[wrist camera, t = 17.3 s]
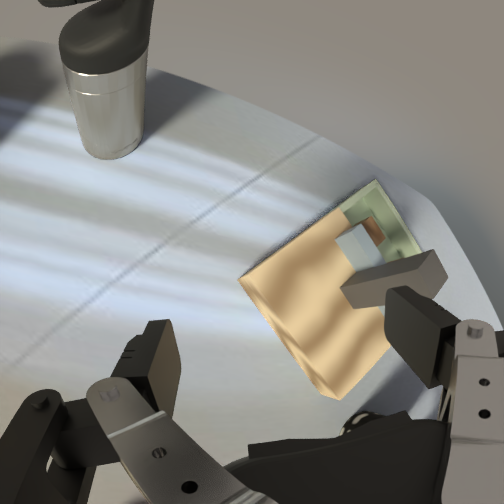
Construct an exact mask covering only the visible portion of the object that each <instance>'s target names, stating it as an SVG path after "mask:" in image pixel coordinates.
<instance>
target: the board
mask: <svg viewBox="0 0 504 504" xmlns="http://www.w3.org/2000/svg"><path fill="white" fill-rule="evenodd" d="M350 228H352V226H351V224H350V223H349V221H348V220H347V218H346V217H345V215H344V214H343V212H342V211H341V210H340V208H339V207H338V208H336V209H335V210H333V211H332V212H330V213H328V214H327V215H325V216H324V217H322V218H321V219H319V220H318V221H317V222H315V223H314V224H312V225H311V226H310V227H308V228H307V229H306V230H304V231H303V232H302V233H300V234H299V235H298V236H296V237H295V238H294V239H292V240H291V241H290V242H288V243H287V244H285V245H284V246H283V247H281V248H280V249H279V250H277V251H276V252H275V253H273V254H272V255H270V256H269V257H268V258H266V259H265V260H264V261H262V262H261V263H260V264H258V265H257V266H255V267H254V268H253V269H251V270H250V271H249V272H247V273H246V274H245V275H243V276H242V277H240V278H239V279H238V282H239V283H240V284H241V286H242V287H243V289H244V290H245V291H246V293H247V294H248V296H249V297H250V298H251V300H252V301H253V303H254V304H255V305H256V307H257V308H258V309H259V311H260V312H261V314H262V315H263V316H264V318H265V319H266V320H267V322H268V323H269V325H270V326H271V327H272V329H273V330H274V331H275V333H276V334H277V336H278V337H279V338H280V340H281V341H282V342H283V344H284V345H285V346H286V348H287V349H288V351H289V352H290V353H291V355H292V356H293V357H294V359H295V360H296V361H297V363H298V364H299V365H300V367H301V368H302V369H303V371H304V372H305V373H306V375H307V376H308V377H309V379H310V380H311V381H312V383H313V384H314V385H315V387H316V388H317V389H318V391H319V392H320V393H321V394H322V395H325V396H328V397H331V398H334V399H337V400H341V399H342V398H343V397H344V396H345V395H346V394H347V393H348V392H349V391H350V390H351V389H352V388H353V387H354V386H355V385H356V384H357V383H358V382H359V380H360V379H361V378H362V377H363V376H364V375H365V374H366V373H367V372H368V371H369V370H370V369H371V368H372V366H373V365H374V364H375V363H376V362H377V361H378V360H379V359H380V358H381V356H382V355H383V354H384V353H385V352H386V351H387V349H388V348H389V347H390V346H391V344H390V343H389V342H388V341H387V339H386V336H385V333H384V316H383V314H382V313H381V311H380V309H379V308H378V306H377V307H369V308H360V309H353V308H352V306H351V305H350V303H349V302H348V300H347V299H346V297H345V296H344V294H343V293H342V291H341V289H340V287H341V286H342V285H343V284H344V283H345V282H346V281H347V280H348V279H349V278H350V277H351V276H353V275H354V274H355V273H356V271H355V270H354V268H353V267H352V265H351V264H350V262H349V261H348V259H347V258H346V256H345V255H344V253H343V251H342V250H341V248H340V247H339V246H338V244H337V243H336V241H335V240H334V239H336V238H337V237H338V236H339V235H341V234H342V233H343V232H344V231H346V230H348V229H350Z"/></svg>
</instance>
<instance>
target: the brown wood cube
mask: <svg viewBox="0 0 504 504" xmlns="http://www.w3.org/2000/svg"><path fill="white" fill-rule="evenodd" d="M359 224H362V226H363V227H364V229H365V230H366V232H367V233H368V235H369V236H370V238H371V239H372V241H373V242H374V244H375V246H376V247H377V246H378V245H380V244H381V243H382V242H383V241H384V240H385V239H386V237H385V236H384V234H383V233H382V231H381V229H380V228H379V226H378V225H377V223H376V222H375V220H374V219H373V217H372V216H370V217H368V218H366V219H364V220H362V221H360V222H358V223H356V224H355V225H354V226H357V225H359ZM354 226H353V227H354Z"/></svg>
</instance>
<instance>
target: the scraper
mask: <svg viewBox="0 0 504 504" xmlns="http://www.w3.org/2000/svg"><path fill="white" fill-rule="evenodd" d="M334 240H335V241H336V243H337V244H338V246H339V247H340V248H341V250H342V251H343V253H344V255H345V256H346V258H347V259H348V261H349V262H350V264H351V265H352V267H353V268H354V270H355V271H356V273H355V274H354V275H353V276H351V277H350V278H349V279H348V280H347V281H346V282H345V283H344V284H343V285H342V286H341V287H340V289H341V291H342V293H343V294H344V296H345V297H346V299H347V300H348V302H349V303H350V305H351V306H352V308H353V309H360V308H369V307H377V306H378V308H379V309H380V311H381V313H382V314H383V316H384V315H385V296H386V291H387V289H389V288H393V287H398V286H404V285H407V286H408V287H410V288H411V289H413V290H414V291H416V292H417V293H418V294H420V295H422V296H425V297H428V298H430V299H434V297H435V296H436V295H437V293H438V292H439V290H440V289H441V287H442V286H443V285H444V283H445V282H446V280H447V279H448V275H447V273H446V272H445V270H444V268H443V266H442V264H441V262H440V260H439V258H438V256H437V255H436V253H435V251H434V249H432V250H429V251H426V252H422V253H419V254H416V255H413V256H409V257H406V258H403V259H400V260H396V261H393V262H389V263H386V262H385V260H384V258H383V257H382V255H381V254H380V252H379V250H378V249H377V247H376V246H375V244H374V242H373V241H372V239H371V238H370V236H369V235H368V233H367V232H366V230H365V229H364V227H363V226H362V224H359V225H357V226H354V227H352V228H350V229H348V230H346V231H344V232H343V233H342V234H341V235H339V236H338V237H337V238H336V239H334Z"/></svg>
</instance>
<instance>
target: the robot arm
mask: <svg viewBox="0 0 504 504" xmlns="http://www.w3.org/2000/svg"><path fill="white" fill-rule="evenodd" d="M38 1H39V2H40V3H41V4H42V5H43V6H45V7H63V6H69V5H75V4H77V3H85V2H90V1H96V0H38ZM153 4H154V0H101V1H99V2H97V3H95V4H93V5H91V6H89V7H87V8H85V9H83V10H82V11H80V12H78V13H77V14H76V15H74V16H73V17H72V18H71V19H70V20H69V21H68V22H67V23H66V24H65V26H64V27H63V29H62V31H61V34H60V37H59V50H60V55H61V60H62V65H63V70H64V74H65V78H66V82H67V87H68V91H69V95H70V99H71V103H72V107H73V111H74V115H75V118H76V122H77V126H78V130H79V133H80V137H81V140H82V143H83V146H84V148H85V150H86V151H87V152H88V153H89V154H91V155H92V156H94V157H96V158H99V159H104V160H112V159H117V158H121V157H123V156H125V155H127V154H129V153H130V152H132V151H133V150H134V149H135V148H136V147H137V146H138V144H139V143H140V141H141V139H142V136H143V131H144V107H145V87H146V71H147V57H148V46H149V36H150V26H151V18H152V11H153ZM384 333H385V336H386V339H387V341H388V342H389V343H390V344H391V345H392V347H393V348H394V349H395V350H396V351H397V352H398V354H399V355H400V356H401V357H402V358H403V359H404V361H405V362H406V363H407V364H408V365H409V366H410V368H411V369H412V370H413V371H414V372H415V373H416V375H417V376H418V377H419V378H420V379H421V381H422V382H423V383H424V384H425V385H426V387H427V388H428V389H431V388H434V387H436V386H439V385H443V389H442V392H441V397H440V403H439V409H438V415H437V420H432V419H415V420H412V419H411V418H410V416H409V415H408V413H407V412H406V410H405V411H402V412H399V413H396V414H393V415H389V416H386V417H383V418H379V419H376V420H372V421H370V422H368V423H366V424H364V425H362V426H360V427H358V428H355V429H353V430H351V431H349V432H347V433H345V434H343V435H341V436H338V437H336V438H329V439H285V440H279V441H272V442H265V443H257V444H249V445H248V453H249V456H247V457H244V458H241V459H239V460H236V461H234V462H231V463H230V464H228V465H226V466H224V467H222V466H221V465H220V464H219V463H218V462H216V461H215V460H214V459H213V458H212V457H211V456H210V455H209V454H208V453H206V452H205V451H204V450H203V449H202V448H201V447H200V446H199V445H198V444H197V443H196V442H195V441H194V440H193V439H192V438H191V437H189V436H188V435H187V434H186V433H185V432H184V431H183V430H182V429H181V428H180V427H179V426H178V425H177V424H176V423H175V422H174V421H173V420H172V416H173V411H174V406H175V400H176V395H177V390H178V385H179V380H180V375H181V361H180V355H179V351H178V347H177V343H176V339H175V335H174V331H173V327H172V323H171V321H170V320H169V319H165V320H154V321H149V322H148V324H147V326H146V328H145V330H144V332H143V334H142V335H136V336H135V337H134V338H133V339H131V340H130V341H129V342H128V343H127V345H126V347H125V349H124V352H123V353H122V355H121V357H120V359H119V361H118V363H117V365H116V367H115V369H114V370H113V372H112V374H111V376H110V377H109V378H105V379H102V380H100V381H98V382H96V383H94V384H93V385H92V386H91V387H90V388H89V389H88V391H87V393H86V398H84V399H80V400H74V401H69V402H64V401H63V399H62V397H61V395H60V393H59V392H57V391H56V390H52V389H44V390H40V391H37V392H34V393H32V394H31V395H29V396H28V397H27V398H26V399H25V400H24V401H23V403H22V405H21V406H20V408H19V409H18V411H17V412H16V414H15V416H14V417H13V419H12V420H11V422H10V424H9V425H8V427H7V429H6V430H5V432H4V434H3V435H2V437H1V439H0V504H87V502H88V498H89V494H90V490H91V486H92V482H93V478H94V474H95V471H96V467H97V466H98V465H104V464H110V463H115V462H120V463H121V464H122V466H123V467H124V469H125V471H126V472H127V474H128V475H129V477H130V478H131V480H132V481H133V482H134V484H135V485H136V487H137V488H138V490H139V491H140V492H141V494H142V495H143V497H144V498H145V499H146V501H147V502H148V504H504V330H503V331H494V329H493V327H492V326H491V325H490V324H488V323H486V322H484V321H481V320H474V319H470V320H464V321H461V320H459V319H458V318H457V317H455V316H454V315H453V314H451V313H450V312H448V311H447V310H444V308H443V307H442V306H440V305H438V304H437V303H436V302H435V301H433V300H432V299H430V298H428V297H425V296H422V295H420V294H418V293H417V292H416V291H414V290H413V289H411V288H410V287H408V286H407V285H404V286H398V287H393V288H389V289H387V291H386V296H385V315H384ZM50 455H51V456H52V458H53V459H52V462H51V464H50V467H49V469H48V472H47V471H46V466H47V462H48V460H49V457H50Z"/></svg>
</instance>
